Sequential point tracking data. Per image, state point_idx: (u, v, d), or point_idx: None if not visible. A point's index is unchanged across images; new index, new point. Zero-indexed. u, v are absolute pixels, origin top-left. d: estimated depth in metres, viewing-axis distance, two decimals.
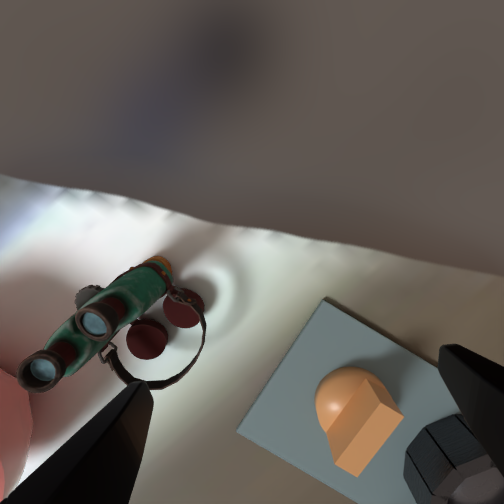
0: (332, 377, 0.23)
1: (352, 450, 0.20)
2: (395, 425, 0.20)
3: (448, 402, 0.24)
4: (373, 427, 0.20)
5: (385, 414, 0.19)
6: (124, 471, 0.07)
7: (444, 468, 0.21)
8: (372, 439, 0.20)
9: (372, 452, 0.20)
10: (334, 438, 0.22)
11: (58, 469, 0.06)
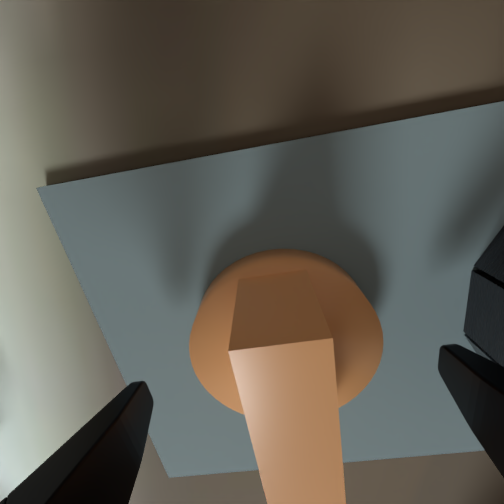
0: None
1: (282, 485, 0.07)
2: (329, 375, 0.05)
3: (497, 176, 0.08)
4: (276, 416, 0.06)
5: (274, 370, 0.05)
6: (124, 471, 0.07)
7: None
8: (303, 439, 0.06)
9: (332, 462, 0.06)
10: None
11: (58, 469, 0.06)
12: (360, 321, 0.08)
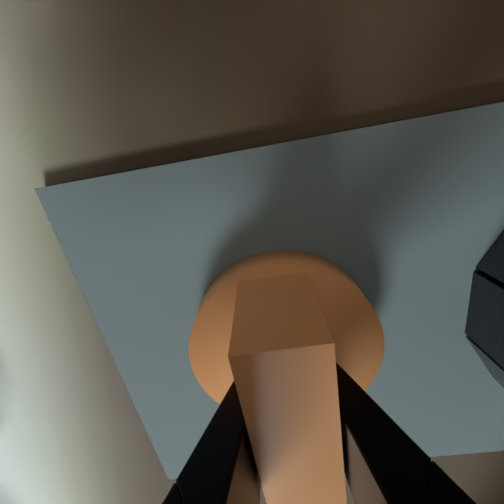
0: None
1: (282, 490, 0.07)
2: (330, 380, 0.05)
3: (499, 177, 0.08)
4: (277, 421, 0.06)
5: (275, 375, 0.05)
6: None
7: None
8: (304, 444, 0.06)
9: (333, 467, 0.06)
10: None
11: (217, 454, 0.05)
12: (361, 323, 0.08)
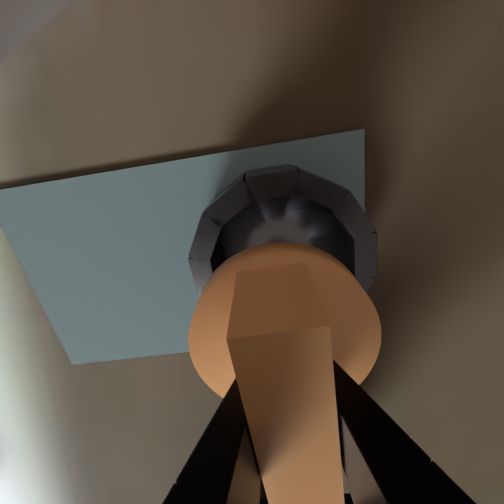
0: None
1: (280, 475, 0.07)
2: (326, 363, 0.05)
3: (196, 191, 0.18)
4: (274, 405, 0.06)
5: (272, 358, 0.05)
6: (256, 459, 0.07)
7: None
8: (301, 429, 0.06)
9: (330, 451, 0.06)
10: None
11: (217, 454, 0.05)
12: (358, 314, 0.08)
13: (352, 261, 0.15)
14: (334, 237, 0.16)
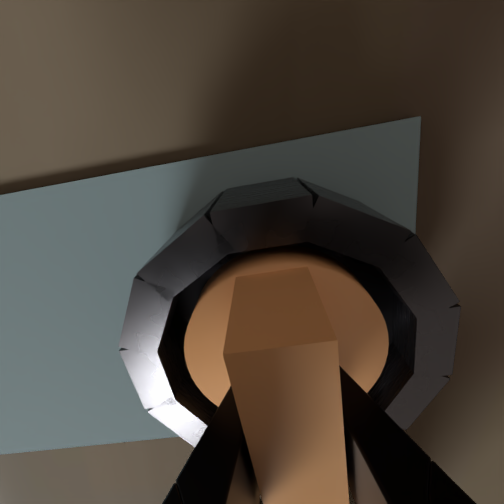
0: None
1: (282, 496, 0.06)
2: (333, 381, 0.05)
3: (147, 222, 0.11)
4: (276, 424, 0.05)
5: (273, 375, 0.05)
6: None
7: None
8: (305, 449, 0.06)
9: (335, 473, 0.06)
10: None
11: (217, 454, 0.05)
12: (364, 321, 0.08)
13: (408, 348, 0.09)
14: None
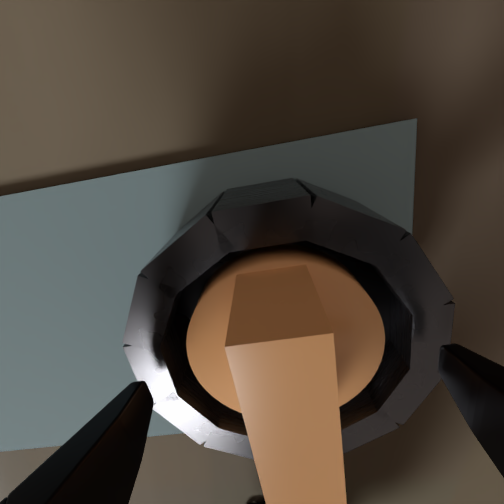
0: None
1: (281, 486, 0.07)
2: (330, 372, 0.05)
3: (150, 221, 0.11)
4: (275, 414, 0.06)
5: (272, 367, 0.05)
6: (124, 471, 0.07)
7: None
8: (302, 438, 0.06)
9: (332, 462, 0.06)
10: None
11: (58, 469, 0.06)
12: (361, 318, 0.08)
13: (405, 344, 0.09)
14: None
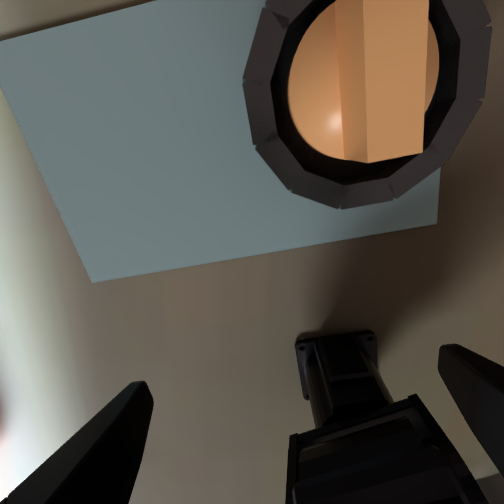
0: (290, 68, 0.12)
1: (380, 112, 0.10)
2: None
3: (241, 30, 0.14)
4: (385, 27, 0.09)
5: None
6: (124, 471, 0.07)
7: None
8: (400, 54, 0.09)
9: (418, 81, 0.09)
10: (352, 142, 0.11)
11: (58, 469, 0.06)
12: None
13: (451, 81, 0.12)
14: None
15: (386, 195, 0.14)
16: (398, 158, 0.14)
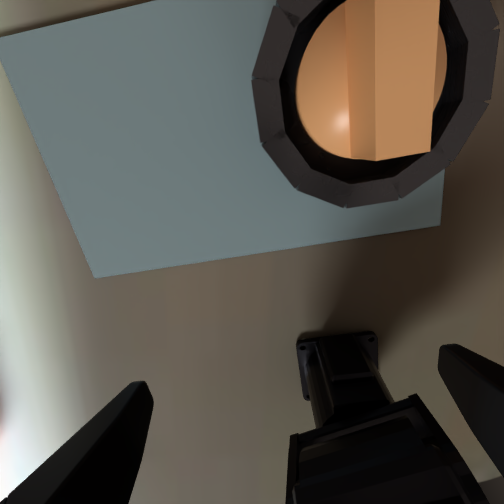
0: (299, 66, 0.12)
1: (389, 110, 0.10)
2: None
3: (250, 28, 0.15)
4: (396, 26, 0.09)
5: None
6: (124, 471, 0.07)
7: (253, 97, 0.13)
8: (410, 52, 0.09)
9: (427, 80, 0.09)
10: (359, 140, 0.12)
11: (58, 469, 0.06)
12: None
13: (458, 82, 0.12)
14: None
15: (391, 195, 0.14)
16: (404, 158, 0.14)
